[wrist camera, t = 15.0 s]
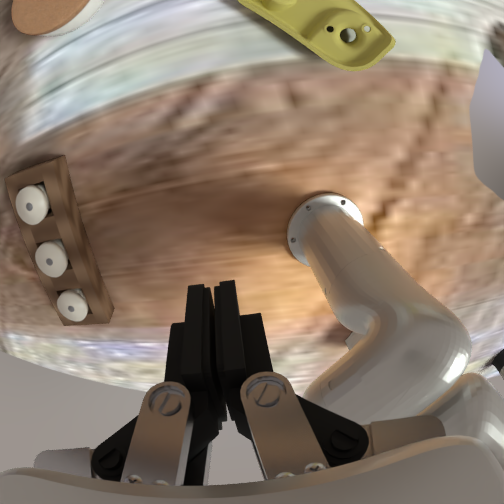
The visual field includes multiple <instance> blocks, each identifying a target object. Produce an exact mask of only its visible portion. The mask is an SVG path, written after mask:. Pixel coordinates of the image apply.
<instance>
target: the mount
mask: <svg viewBox="0 0 504 504" xmlns="http://www.w3.org/2000/svg"><path fill="white" fill-rule="evenodd" d="M42 181H44V184H45V187H46V191H47V195H48V198H49V201H50V205H51V208H52V209H51V210H48V213H47V215H46V217H45V218H44V219H43V220H42V221H41V222H39V223H38V224H35V225H30V224H27V223H26V222H24V221H23V220H22V219H21V218H20V216H19V215H18V212H17V209H16V197H17V195H18V193H19V192H20V191H21V190H22V189H23V188H25V187H27V186H29V185H33V184H36V183H39V182H42ZM5 183H6V187H7V190H8V194H9V197H10V201H11V204H12V207H13V210H14V213H15V216H16V219H17V222H18V225H19V228H20V231H21V234H22V236H23V239H24V242H25V244H26V247H27V249H28V252H29V254H30V257H31V259H32V262H33V264H34V266H35V269H36V271H37V273H38V275H39V277H40V280H41V282H42V284H43V286H44V288H45V290H46V292H47V294H48V296H49V298H50V300H51V302H52V304H53V306H54V308H55V310H56V312H57V314H58V316H59V318H60V320H61V321H62V323H63V325H64V326H69V325H89V324H105V323H109V322H110V319H111V317H112V314H113V311H114V306H113V304H112V302H111V299H110V297H109V294H108V292H107V290H106V287H105V285H104V282H103V279H102V277H101V274H100V272H99V269H98V266H97V264H96V261H95V258H94V255H93V252H92V250H91V247H90V244H89V241H88V238H87V235H86V232H85V229H84V225H83V222H82V219H81V216H80V212H79V209H78V205H77V202H76V198H75V195H74V191H73V187H72V183H71V179H70V175H69V171H68V167H67V162H66V158H65V155H64V156H61V157H58V158H55V159H51V160H48V161H46V162H43V163H40V164H37V165H34V166H31V167H29V168H26V169H23V170H20V171H18V172H16V173H14V174H12V175H11V176H9V177H7V178H5ZM60 238H61V239H62V241H63V244H64V247H65V250H66V252H67V255H68V258H69V259H68V265H67V268H66V270H65V271H64V272H63V274H62V275H61V276H59V277H50V276H48V275H46V274H44V273H43V272H42V271H41V270H40V268H39V267H38V265H37V263H36V259H35V254H36V251H37V249H38V248H39V247H40V246H41V244H43V243H44V242H47V241H50V240H55V239H60ZM77 288H81V289H82V291H83V294H84V296H85V298H86V300H87V302H88V313H87V315H86V317H85V318H84V319H83V320H82V321H72V320H69V319H67V318H66V317H64V316H63V315H62V314H61V312H60V311H59V309H58V307H57V300H58V298H59V296H60V295H61V293H62V292H64V291H67V290H68V289H77Z"/></svg>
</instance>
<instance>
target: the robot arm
mask: <svg viewBox="0 0 504 504" xmlns="http://www.w3.org/2000/svg"><path fill="white" fill-rule="evenodd" d="M341 200H342V201H341ZM306 206H308V207H306ZM291 238H293V239H291ZM287 241H288V245H289V248H290V250H291V252H292V254H293V255H294V256H295V258H296V259H297V260H298V261H300V262H301V263H302V264H304V265H307V266H309V267H311V269H312V271H313V273H314V275H315V277H316V279H317V281H318V283H319V285H320V287H321V289H322V291H323V293H324V295H325V297H326V299H327V301H328V303H329V305H330V307H331V309H332V311H333V313H334V315H335V316H336V318H337V319H338V321H339V322H340V323H341V324H342V325H343V326H345V327H346V328H348V329H349V330H351V331H353V332H356V333H359V334H362V335H365V336H364V337H363V338H362V339H361V340H360V341H359V342H358V343H357V344H356V345H354V347H353V348H352V349H351V350H350V351H349V352H347V353H346V354H345V355H344V356H343V357H342V358H340V359H339V360H338V361H337V362H336V363H335V364H333V365H332V366H331V367H330V368H329V369H327V370H326V371H325V372H324V373H323V374H321V375H320V376H319V377H318V378H317V379H316V380H315V381H313V382H312V383H311V384H310V386H309V387H308V388H307V389H306V391H305V393H304V395H303V397H300V396H298V395H296V394H295V392H294V390H293V388H292V386H291V384H290V382H289V381H288V380H287V378H285V377H284V376H282V375H281V374H278V373H275V372H273V368H272V364H271V359H270V354H269V350H268V345H267V340H266V335H265V331H264V326H263V321H262V316H261V313H256V314H249V315H241V316H240V313H239V307H238V300H237V293H236V286H235V280H230V281H222V282H220V286H215V287H214V304H215V309H214V304H213V299H212V294H211V289H210V287H207V288H205V287H204V284H199V285H191V286H188V293H187V303H186V313H185V322H181V323H172V325H171V329H170V337H169V345H168V353H167V361H166V370H165V380H164V382H162V383H159V384H156V385H155V386H153V387H151V388H150V389H149V391H148V392H147V393H146V395H145V397H144V399H143V402H142V406H141V409H140V413H139V415H138V416H136V417H135V418H134V419H133V420H131V421H130V422H129V423H128V424H126V425H125V426H124V427H122V428H121V429H120V430H118V431H117V432H116V433H115V434H113V435H112V436H111V437H109V438H108V439H107V440H105V441H104V442H103V443H101V444H100V445H99V446H98V447H97V448H96V449H90V448H89V447H85V448H75V449H62V450H46V451H42V452H41V453H40V454H38V455H37V457H36V459H35V462H34V468H29V467H28V468H27V467H24V468H14V469H10V470H7V471H4V472H1V473H0V504H504V398H503V397H502V396H501V394H500V393H499V392H498V391H497V389H496V388H495V387H494V386H493V385H492V384H491V383H490V381H488V380H487V379H486V378H485V377H483V376H482V375H480V374H477V373H466V374H463V372H464V371H465V369H466V367H467V365H468V363H469V360H470V357H471V352H472V342H471V338H470V335H469V333H468V331H467V329H466V327H465V326H464V325H463V323H462V322H461V321H460V319H459V318H458V317H457V316H456V315H455V314H454V313H453V312H452V311H450V310H449V309H448V308H447V307H446V306H444V305H443V304H442V303H441V302H439V301H438V300H437V299H436V298H434V297H433V296H432V295H431V294H429V293H428V292H427V291H426V290H425V289H424V288H423V287H422V286H420V285H419V284H418V283H417V282H416V281H415V280H414V279H413V278H412V277H411V276H410V275H409V274H408V273H407V272H406V271H405V270H404V269H403V267H402V266H401V265H400V264H399V263H398V262H397V261H396V260H395V259H394V258H393V257H392V256H391V254H390V253H389V252H388V251H387V250H386V249H385V248H384V247H383V246H382V245H381V244H380V243H379V242H378V241H377V240H376V239H375V238H374V237H373V236H372V235H371V234H370V233H369V232H368V231H367V229H366V228H365V227H364V226H363V218H362V214H361V212H360V210H359V209H358V207H357V206H356V205H355V204H354V203H353V202H352V201H351V200H350V199H348V198H346V197H345V196H342V195H339V194H334V193H324V194H320V195H316V196H314V197H312V198H309V199H308V200H306V201H305V202H304V203H302V204H301V205H300V206H299V207H298V208H297V209H296V211H295V212H294V213H293V215H292V217H291V219H290V221H289V224H288V228H287ZM462 374H463V375H462ZM226 404H227V407H228V410H229V413H230V417H231V420H232V421H234V420H235V423H236V426H237V430H238V432H239V433H240V434H242V435H243V436H245V437H246V438H248V439H250V440H251V443H252V446H253V449H254V452H255V455H256V458H257V461H258V464H259V467H260V470H261V473H262V476H263V478H264V481H258V482H249V483H239V484H227V485H209V486H207V484H208V477H209V468H210V460H211V452H212V440H213V439H214V438H215V437H216V436H217V435H218V434H219V430H222V422H224V421H227V410H226Z"/></svg>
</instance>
